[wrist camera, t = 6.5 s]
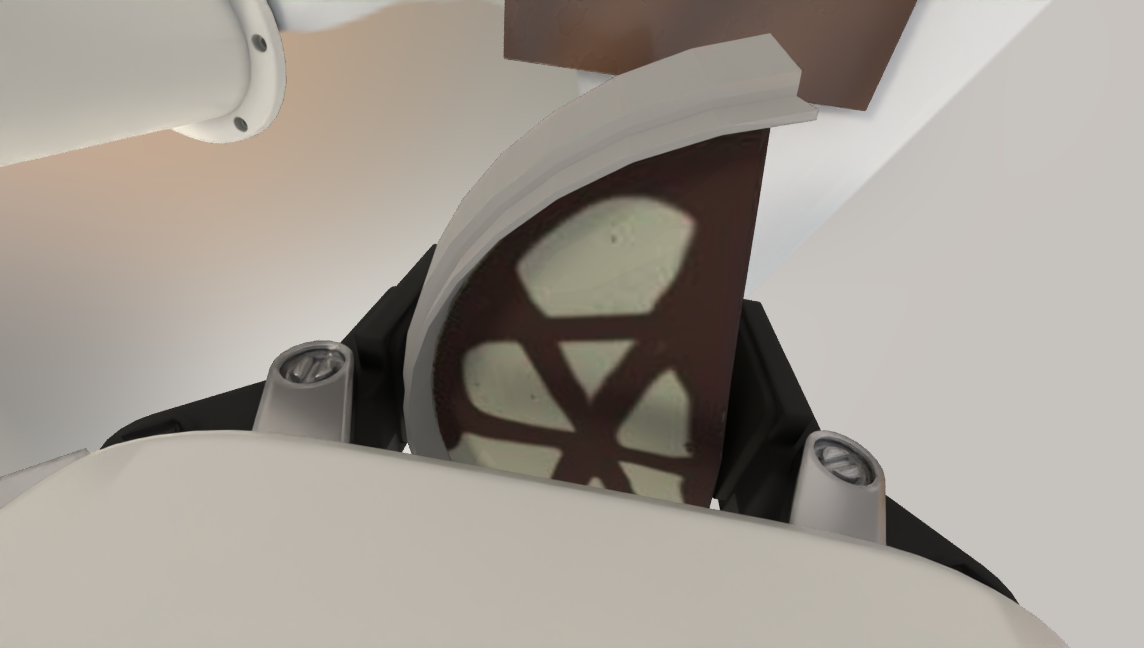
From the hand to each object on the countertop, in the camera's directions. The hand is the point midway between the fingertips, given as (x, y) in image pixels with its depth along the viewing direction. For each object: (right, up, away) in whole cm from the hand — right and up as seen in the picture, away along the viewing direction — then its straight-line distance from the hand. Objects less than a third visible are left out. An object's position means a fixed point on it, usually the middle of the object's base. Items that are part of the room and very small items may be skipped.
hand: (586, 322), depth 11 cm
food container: (0, +3, +4) cm, 5 cm away
